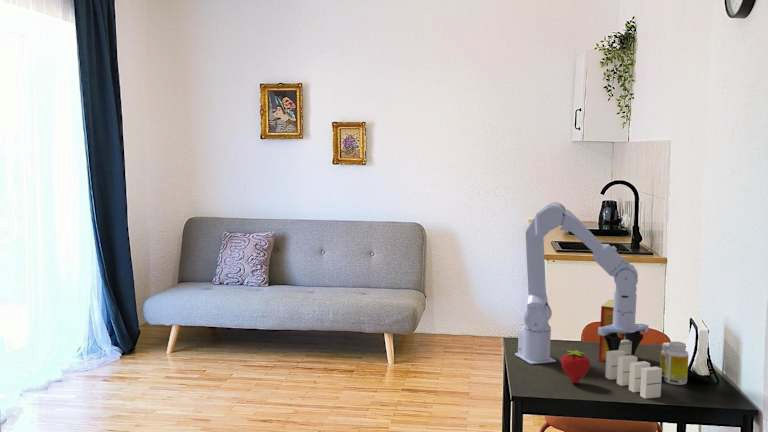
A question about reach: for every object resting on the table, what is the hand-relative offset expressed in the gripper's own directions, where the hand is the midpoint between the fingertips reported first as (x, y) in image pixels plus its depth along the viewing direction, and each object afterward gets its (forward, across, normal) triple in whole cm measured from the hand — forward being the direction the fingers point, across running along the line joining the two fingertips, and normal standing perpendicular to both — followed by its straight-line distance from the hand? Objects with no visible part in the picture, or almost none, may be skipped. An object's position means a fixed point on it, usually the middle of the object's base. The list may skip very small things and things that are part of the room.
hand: (621, 359), depth 209 cm
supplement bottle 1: (+3, +9, -8) cm, 12 cm away
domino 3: (+3, -6, -16) cm, 17 cm away
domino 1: (+3, -6, -6) cm, 9 cm away
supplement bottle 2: (+3, +7, -13) cm, 15 cm away
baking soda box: (+3, +4, +9) cm, 10 cm away
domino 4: (+3, -6, -20) cm, 21 cm away
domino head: (+2, 0, 0) cm, 2 cm away
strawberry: (+3, -19, -7) cm, 20 cm away
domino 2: (+3, -6, -11) cm, 12 cm away
